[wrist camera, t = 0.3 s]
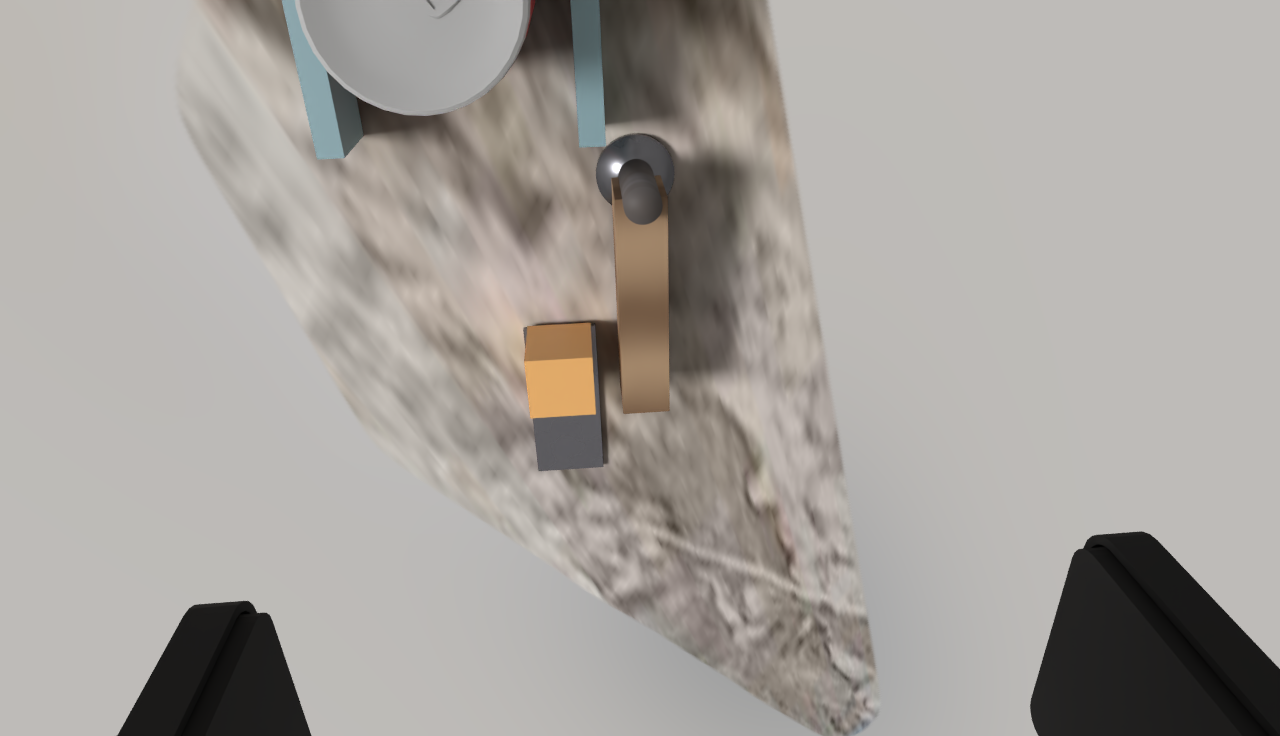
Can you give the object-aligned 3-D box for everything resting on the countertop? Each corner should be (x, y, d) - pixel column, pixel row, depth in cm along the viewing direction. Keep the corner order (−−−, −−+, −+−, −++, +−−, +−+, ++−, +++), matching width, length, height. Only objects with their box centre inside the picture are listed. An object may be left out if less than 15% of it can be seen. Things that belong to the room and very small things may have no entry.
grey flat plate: (523, 327, 46) (523, 330, 46) (594, 323, 46) (595, 325, 46) (538, 468, 51) (538, 471, 51) (603, 463, 51) (603, 466, 51)
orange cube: (527, 326, 46) (524, 361, 42) (590, 322, 46) (592, 357, 42) (533, 380, 47) (530, 418, 44) (593, 376, 48) (595, 414, 44)
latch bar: (610, 159, 41) (615, 188, 37) (660, 157, 41) (670, 185, 37) (619, 381, 48) (624, 425, 44) (662, 378, 48) (671, 422, 44)
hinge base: (593, 135, 41) (594, 136, 41) (673, 132, 41) (674, 133, 41) (598, 212, 43) (598, 214, 43) (673, 208, 43) (674, 210, 43)
